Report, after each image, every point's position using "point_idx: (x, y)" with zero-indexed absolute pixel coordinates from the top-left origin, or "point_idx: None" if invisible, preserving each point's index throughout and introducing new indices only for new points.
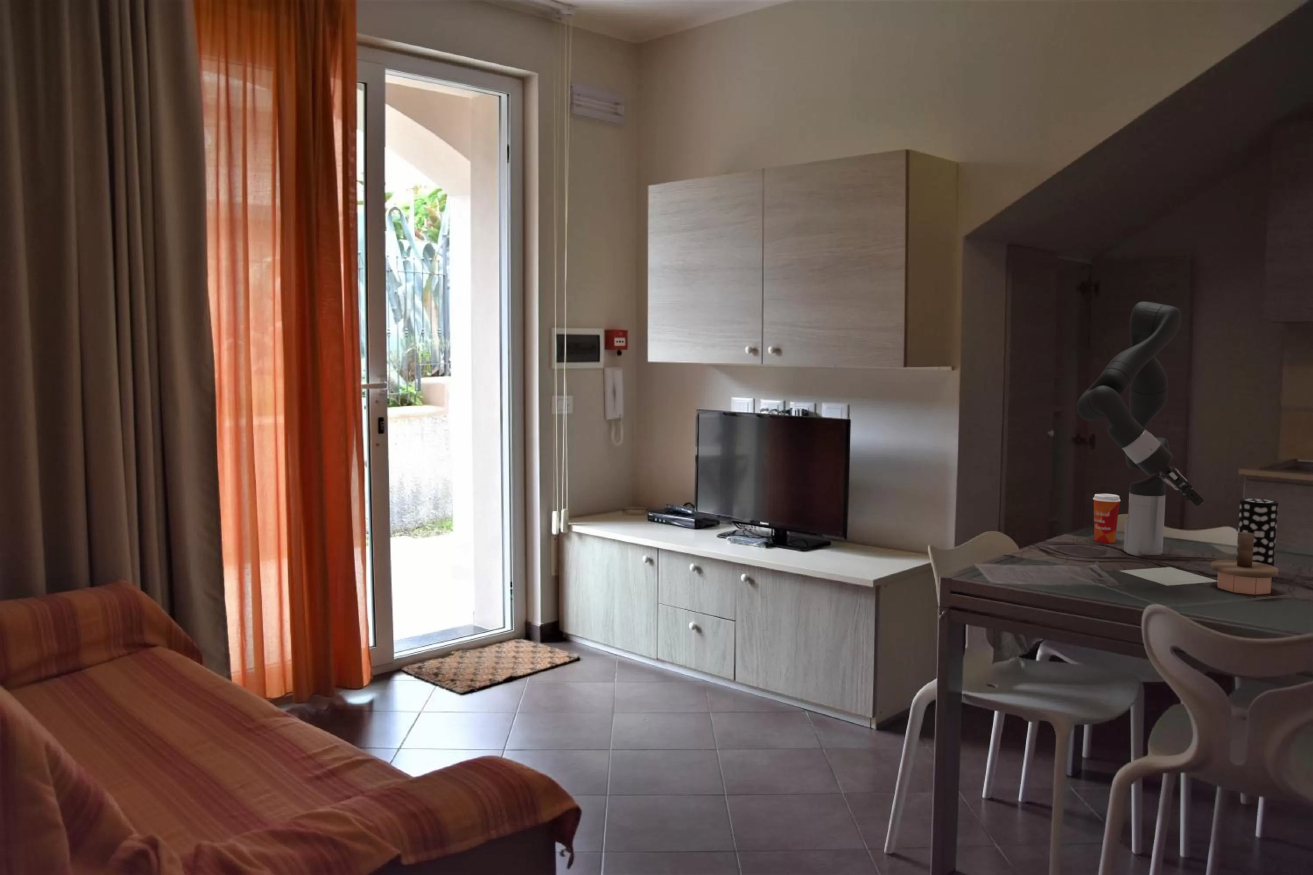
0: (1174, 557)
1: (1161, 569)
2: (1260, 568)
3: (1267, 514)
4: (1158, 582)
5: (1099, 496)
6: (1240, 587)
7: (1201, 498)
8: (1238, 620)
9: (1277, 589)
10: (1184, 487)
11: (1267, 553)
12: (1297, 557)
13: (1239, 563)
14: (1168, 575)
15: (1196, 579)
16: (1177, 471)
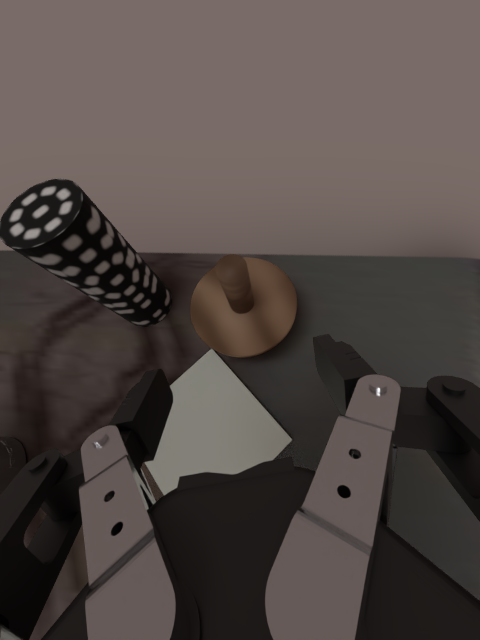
0: (20, 414)
1: None
2: (250, 280)
3: (102, 216)
4: (273, 456)
5: None
6: None
7: (331, 340)
8: (468, 330)
9: None
10: (143, 419)
11: (148, 266)
12: (5, 254)
13: (250, 307)
14: (200, 433)
15: (213, 384)
16: (370, 566)
